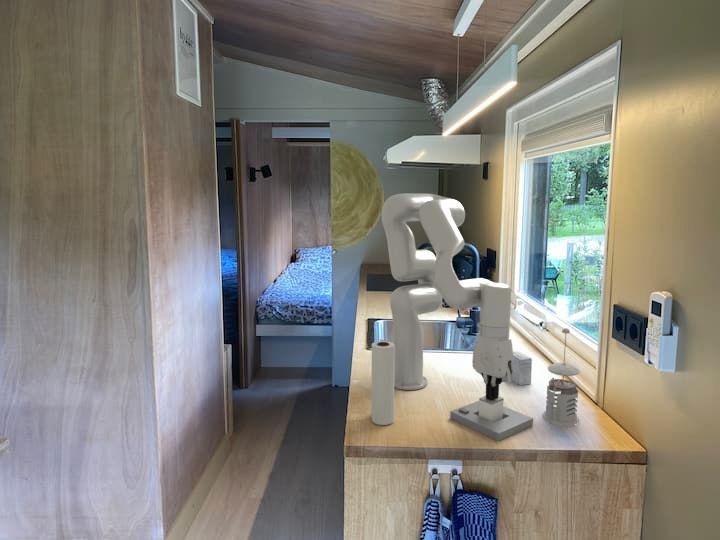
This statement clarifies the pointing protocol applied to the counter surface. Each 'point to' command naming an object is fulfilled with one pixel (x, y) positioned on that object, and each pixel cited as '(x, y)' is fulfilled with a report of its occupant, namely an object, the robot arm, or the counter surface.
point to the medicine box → (521, 368)
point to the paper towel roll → (383, 382)
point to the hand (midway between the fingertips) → (491, 398)
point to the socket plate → (495, 430)
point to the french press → (562, 394)
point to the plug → (491, 409)
